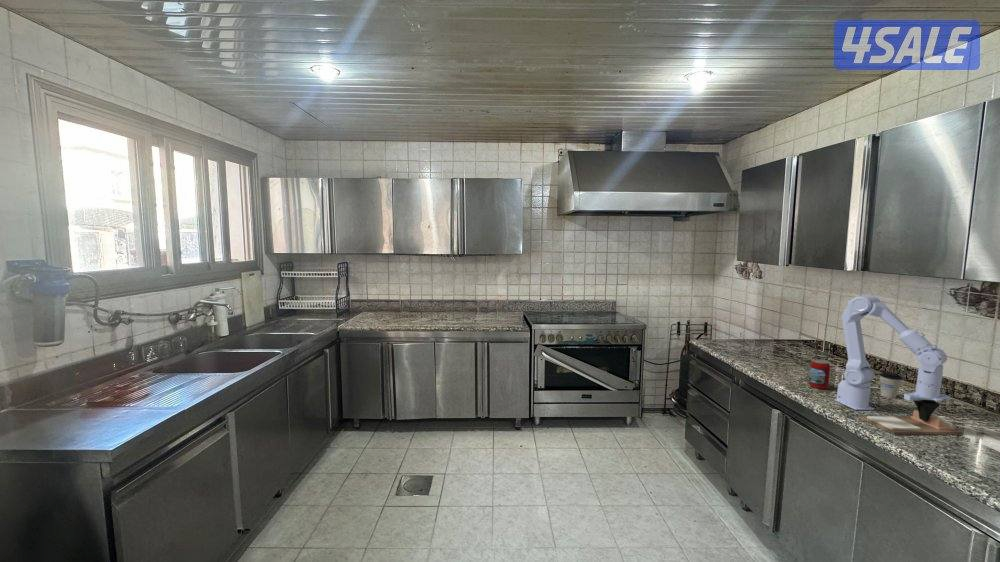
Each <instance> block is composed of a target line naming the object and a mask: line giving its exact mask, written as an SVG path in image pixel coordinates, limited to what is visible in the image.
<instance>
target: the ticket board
mask: <svg viewBox="0 0 1000 562" xmlns="http://www.w3.org/2000/svg"><path fill="white" fill-rule="evenodd" d="M911 416H912V415H860V416H859V418H860V420H862V421H864V420H865V421H864V422H866V421H867V422H866V423H868V422H869V423H868V424H870V423H871V424H870V425H872V424H873V426H874V425H875V426H874V427H876V426H877V428H878V427H879V428H878V429H881V430H883V431H885V430H886V431H885V432H887V431H888V432H887V433H889V432H890V433H889V434H891V433H892V434H891V435H893V434H894V435H893V436H925V435H926V436H934V435H935V436H953V435H954V436H955V435H956V436H959V435H960V436H961V435H963V432H962V431H960V430H958V429H956V430H939V429H936V428H934V427H931V426H929V425H927V424H924V423H922V422H920V421H917V420H915V419H912V418H911Z"/></svg>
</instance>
